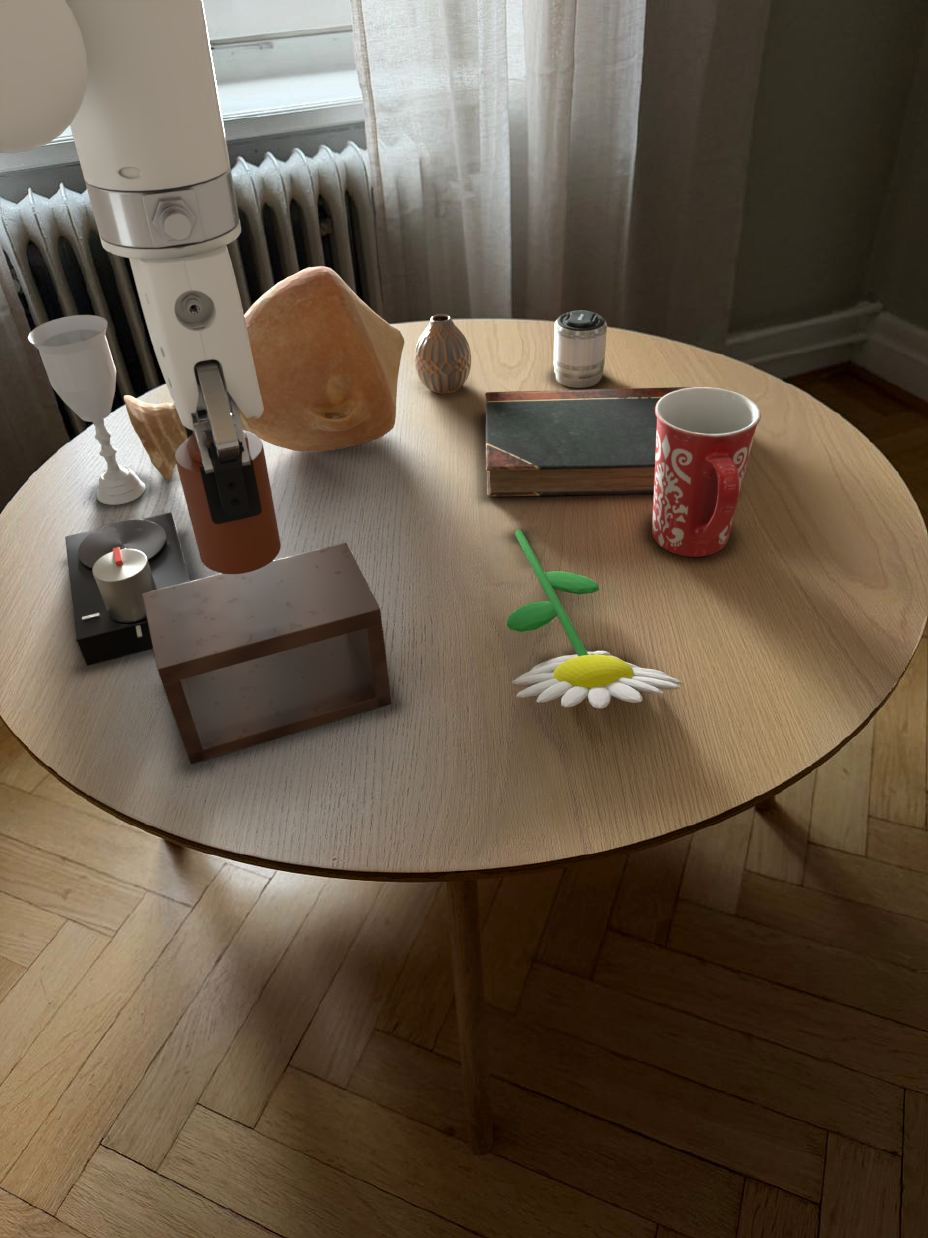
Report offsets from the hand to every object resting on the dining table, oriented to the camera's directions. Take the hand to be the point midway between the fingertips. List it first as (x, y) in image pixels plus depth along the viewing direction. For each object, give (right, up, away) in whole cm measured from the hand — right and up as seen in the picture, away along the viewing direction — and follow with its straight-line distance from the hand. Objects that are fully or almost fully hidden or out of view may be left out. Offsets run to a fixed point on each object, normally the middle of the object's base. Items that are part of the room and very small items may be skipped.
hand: (227, 490), depth 61 cm
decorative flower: (+24, -10, +18) cm, 32 cm away
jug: (-5, +11, +43) cm, 45 cm away
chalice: (-21, +5, +37) cm, 43 cm away
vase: (+13, +20, +53) cm, 58 cm away
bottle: (0, -4, +3) cm, 5 cm away
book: (+31, +10, +40) cm, 51 cm away
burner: (-16, -2, +24) cm, 29 cm away
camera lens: (+30, +21, +54) cm, 65 cm away
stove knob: (-13, -8, +18) cm, 23 cm away
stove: (-14, -7, +23) cm, 28 cm away
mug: (+38, -2, +27) cm, 46 cm away
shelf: (+1, -15, +13) cm, 20 cm away
